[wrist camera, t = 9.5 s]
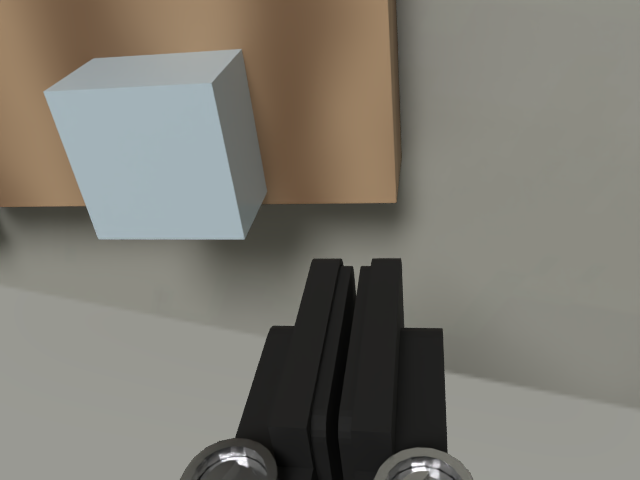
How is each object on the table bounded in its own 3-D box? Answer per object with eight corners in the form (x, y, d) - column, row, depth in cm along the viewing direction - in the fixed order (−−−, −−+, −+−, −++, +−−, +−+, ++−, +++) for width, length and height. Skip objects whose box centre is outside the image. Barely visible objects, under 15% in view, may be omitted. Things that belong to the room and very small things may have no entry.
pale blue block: (241, 48, 18) (211, 83, 16) (267, 191, 21) (244, 239, 19) (93, 58, 19) (43, 91, 17) (136, 193, 22) (98, 239, 20)
